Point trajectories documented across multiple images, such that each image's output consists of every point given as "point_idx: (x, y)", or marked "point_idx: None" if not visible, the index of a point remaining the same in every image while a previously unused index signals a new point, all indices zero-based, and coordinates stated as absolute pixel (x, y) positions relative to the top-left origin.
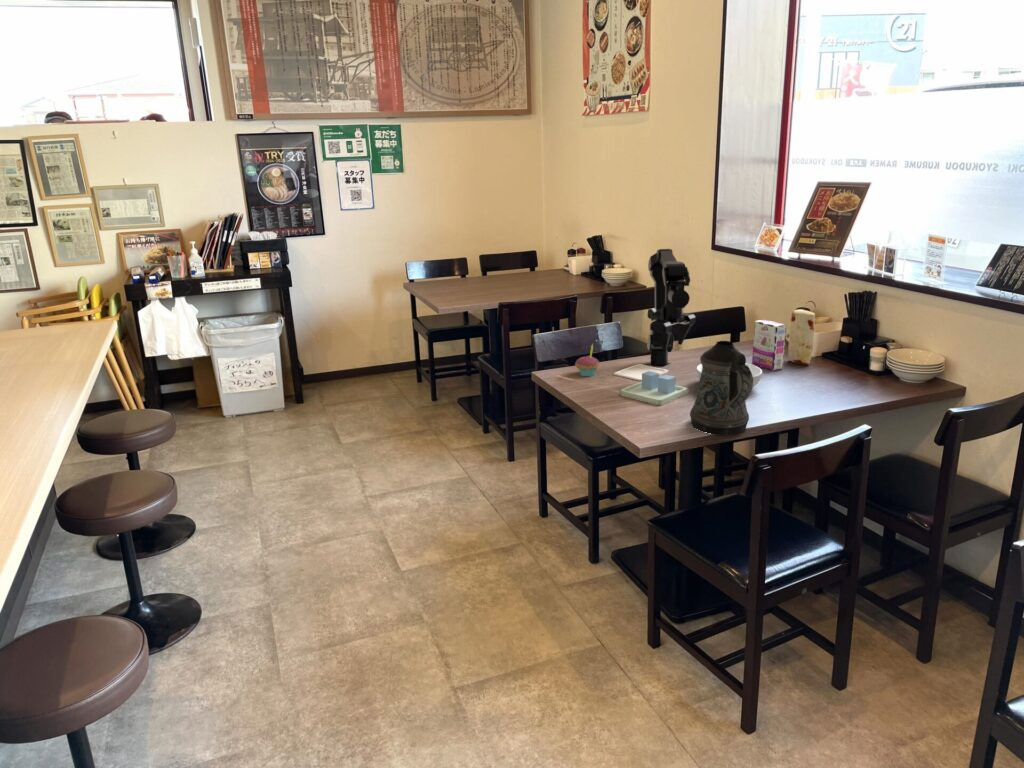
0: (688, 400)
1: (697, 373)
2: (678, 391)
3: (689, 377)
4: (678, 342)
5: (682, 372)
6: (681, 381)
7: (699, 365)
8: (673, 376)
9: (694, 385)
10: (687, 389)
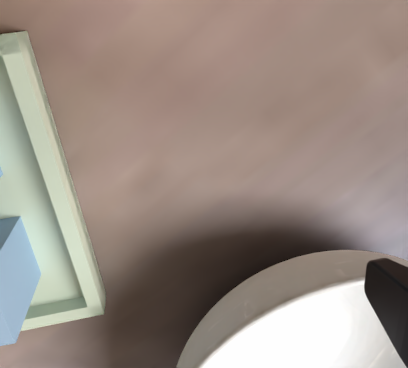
0: (33, 353)
1: (206, 336)
2: None
3: (331, 121)
4: (381, 278)
5: (398, 18)
6: (238, 143)
7: (302, 301)
8: (8, 332)
9: (229, 230)
10: (95, 312)
